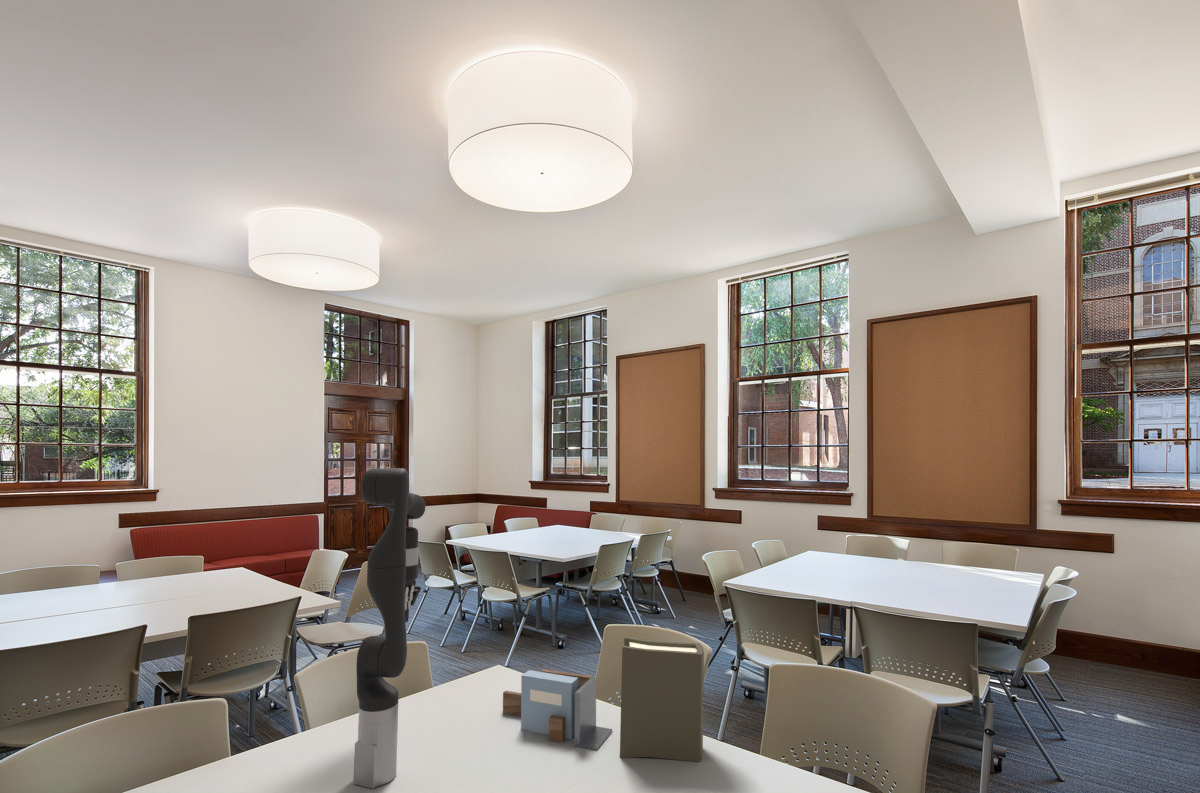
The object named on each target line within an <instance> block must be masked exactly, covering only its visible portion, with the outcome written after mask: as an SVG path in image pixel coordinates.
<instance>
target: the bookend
mask: <svg viewBox="0 0 1200 793" xmlns="http://www.w3.org/2000/svg"><path fill="white" fill-rule="evenodd" d="M612 733H613V728H608V727H604V726H603V727H602V726H597V678H596V677H593V678H592V677H591V678H590V679H589V680H588V681H587V682H586V683H585V684H584V685H583V686H581V687H580V688H579V689H578V690H577V691H576V692H575V736H574V747H575V748H576V747H577V748H581V749H582V748H583V749H586V750H587V749H588V750H592V751H598V750H599V749H600V748H601V746H602V745H603V744H604V743H605V741H606V740H607V739H608V737H609V736H610V735H611V734H612Z"/></svg>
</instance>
